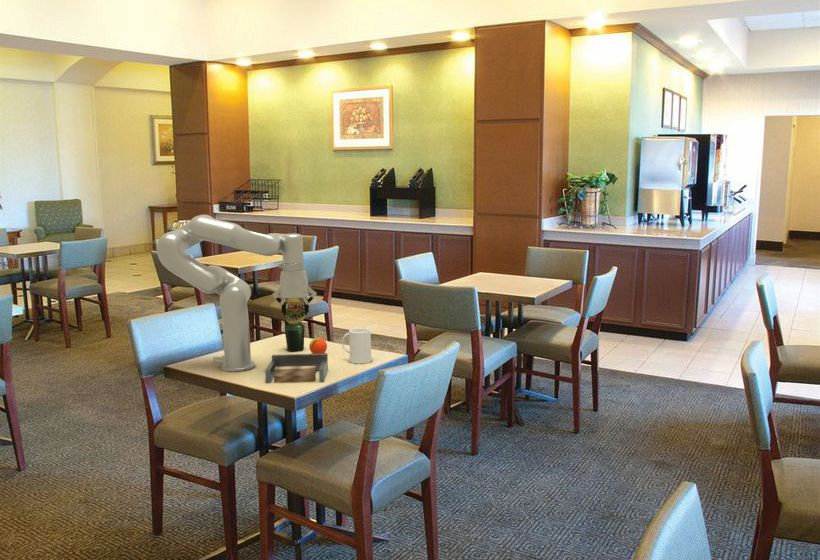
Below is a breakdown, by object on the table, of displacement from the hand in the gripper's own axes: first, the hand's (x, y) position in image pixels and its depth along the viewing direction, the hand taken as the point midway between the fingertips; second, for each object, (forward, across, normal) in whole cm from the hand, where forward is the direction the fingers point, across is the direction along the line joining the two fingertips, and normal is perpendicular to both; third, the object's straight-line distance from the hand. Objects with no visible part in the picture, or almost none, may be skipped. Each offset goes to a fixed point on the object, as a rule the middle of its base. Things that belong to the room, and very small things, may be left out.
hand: (295, 314), depth 258 cm
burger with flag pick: (+4, 0, 0) cm, 4 cm away
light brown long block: (+20, +2, -20) cm, 28 cm away
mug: (+20, +22, +5) cm, 30 cm away
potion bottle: (+20, -4, +23) cm, 31 cm away
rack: (+20, +2, -14) cm, 24 cm away
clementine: (+20, +6, +14) cm, 25 cm away
